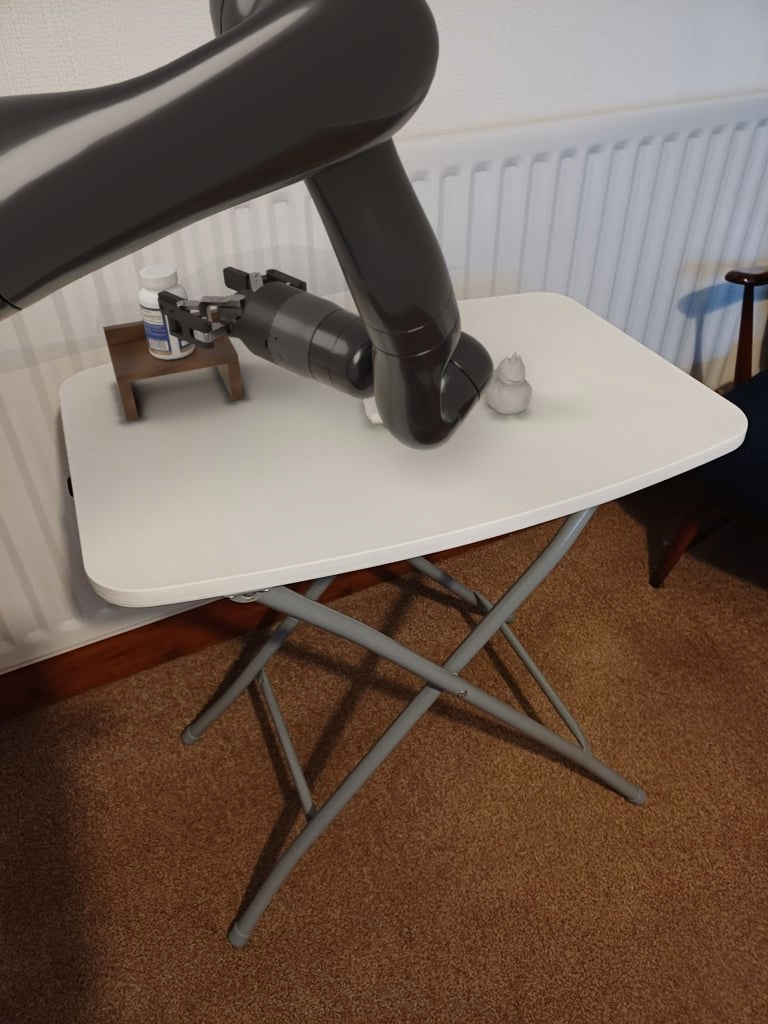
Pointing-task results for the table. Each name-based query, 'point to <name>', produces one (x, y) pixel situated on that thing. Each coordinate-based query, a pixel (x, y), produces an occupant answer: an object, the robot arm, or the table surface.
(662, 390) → the table surface
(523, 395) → the rubber duck
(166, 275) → the pill bottle
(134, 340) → the shelf
